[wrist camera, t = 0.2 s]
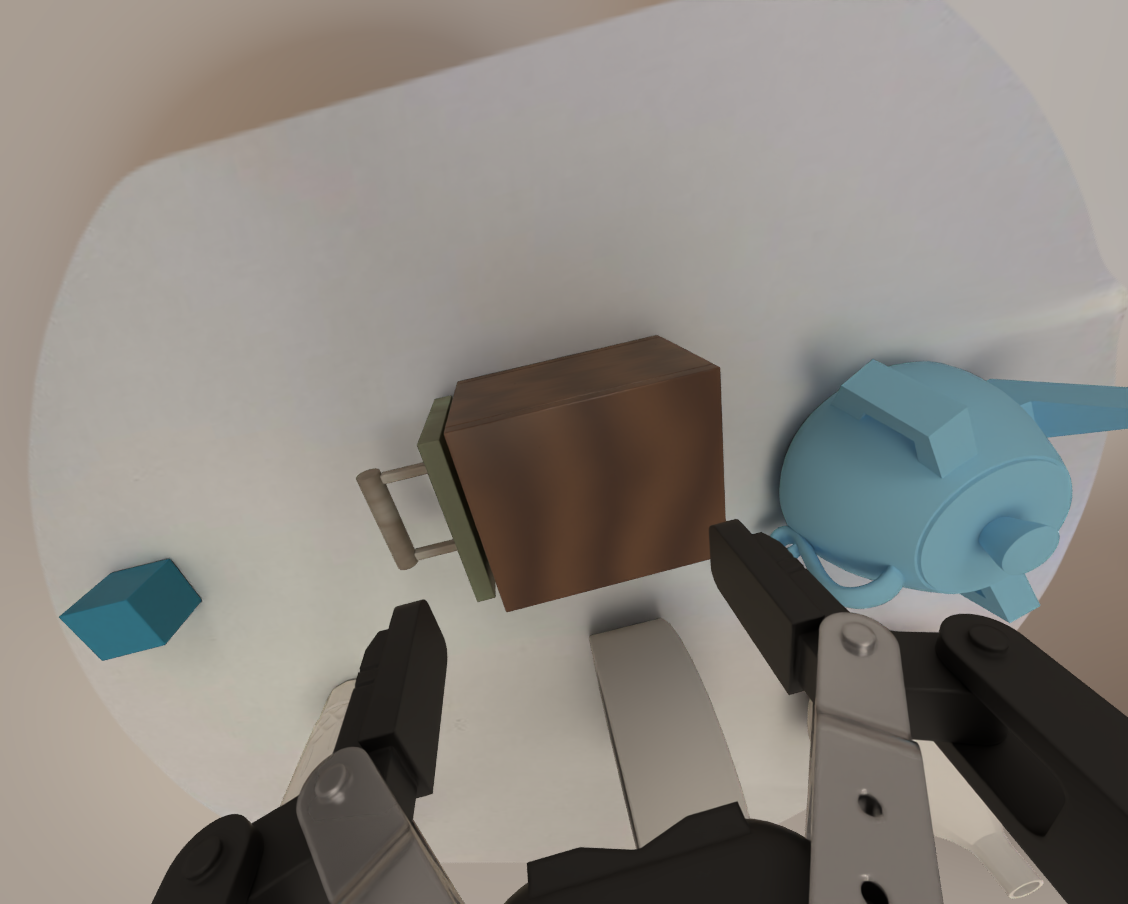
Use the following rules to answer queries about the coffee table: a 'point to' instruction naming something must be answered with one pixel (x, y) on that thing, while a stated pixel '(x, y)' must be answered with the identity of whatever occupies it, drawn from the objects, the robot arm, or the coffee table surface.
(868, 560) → the teapot
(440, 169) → the coffee table surface
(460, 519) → the drawer
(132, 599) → the blue block
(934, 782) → the vase
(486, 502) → the cabinet
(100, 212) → the coffee table surface
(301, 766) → the white cup
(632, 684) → the alarm clock
